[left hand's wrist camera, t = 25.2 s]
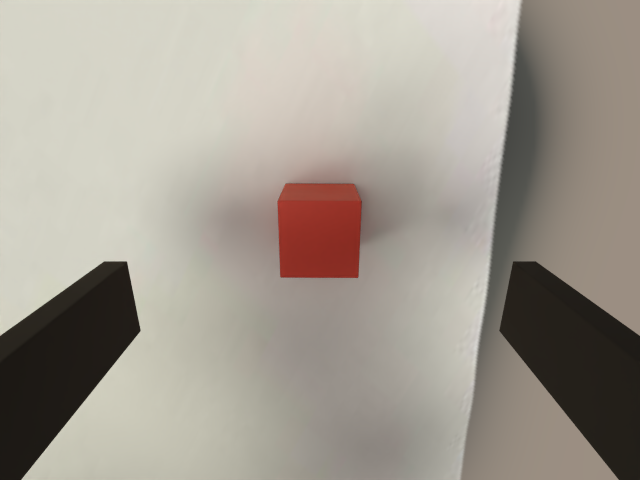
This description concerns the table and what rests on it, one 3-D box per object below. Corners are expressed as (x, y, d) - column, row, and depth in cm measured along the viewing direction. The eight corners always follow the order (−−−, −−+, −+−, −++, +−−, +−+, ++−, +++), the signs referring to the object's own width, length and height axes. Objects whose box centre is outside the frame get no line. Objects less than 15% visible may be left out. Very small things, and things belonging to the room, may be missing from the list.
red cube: (285, 183, 22) (277, 200, 18) (354, 183, 22) (361, 200, 18) (287, 248, 23) (280, 277, 19) (351, 248, 23) (358, 278, 19)
